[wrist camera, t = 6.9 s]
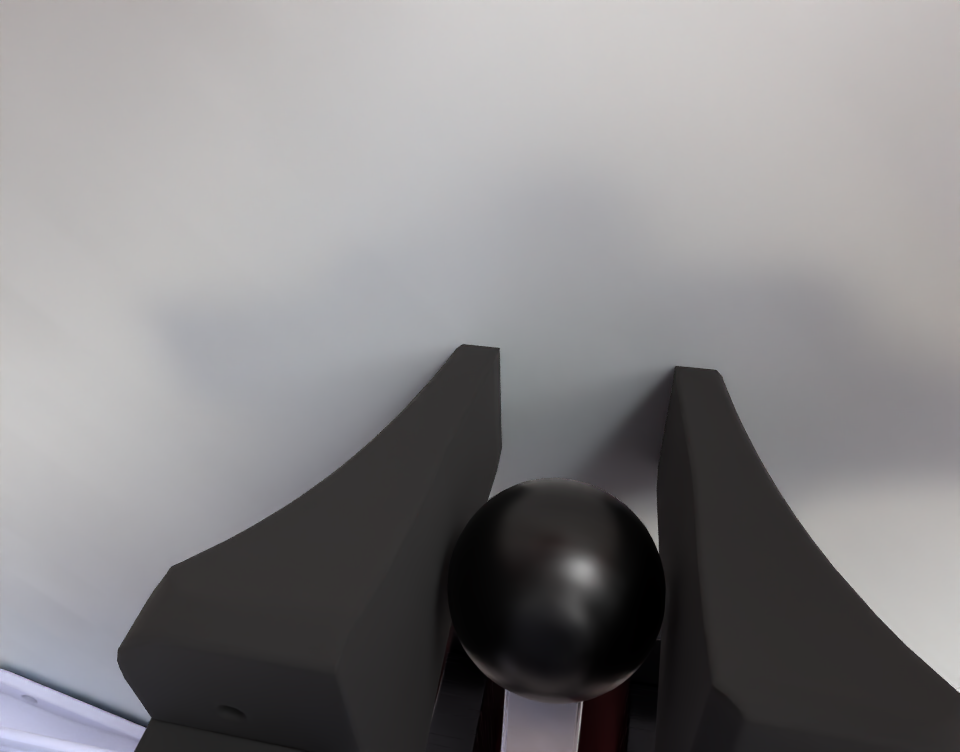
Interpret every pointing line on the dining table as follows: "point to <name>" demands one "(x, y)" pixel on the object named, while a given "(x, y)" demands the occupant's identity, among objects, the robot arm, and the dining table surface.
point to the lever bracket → (480, 705)
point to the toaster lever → (555, 603)
